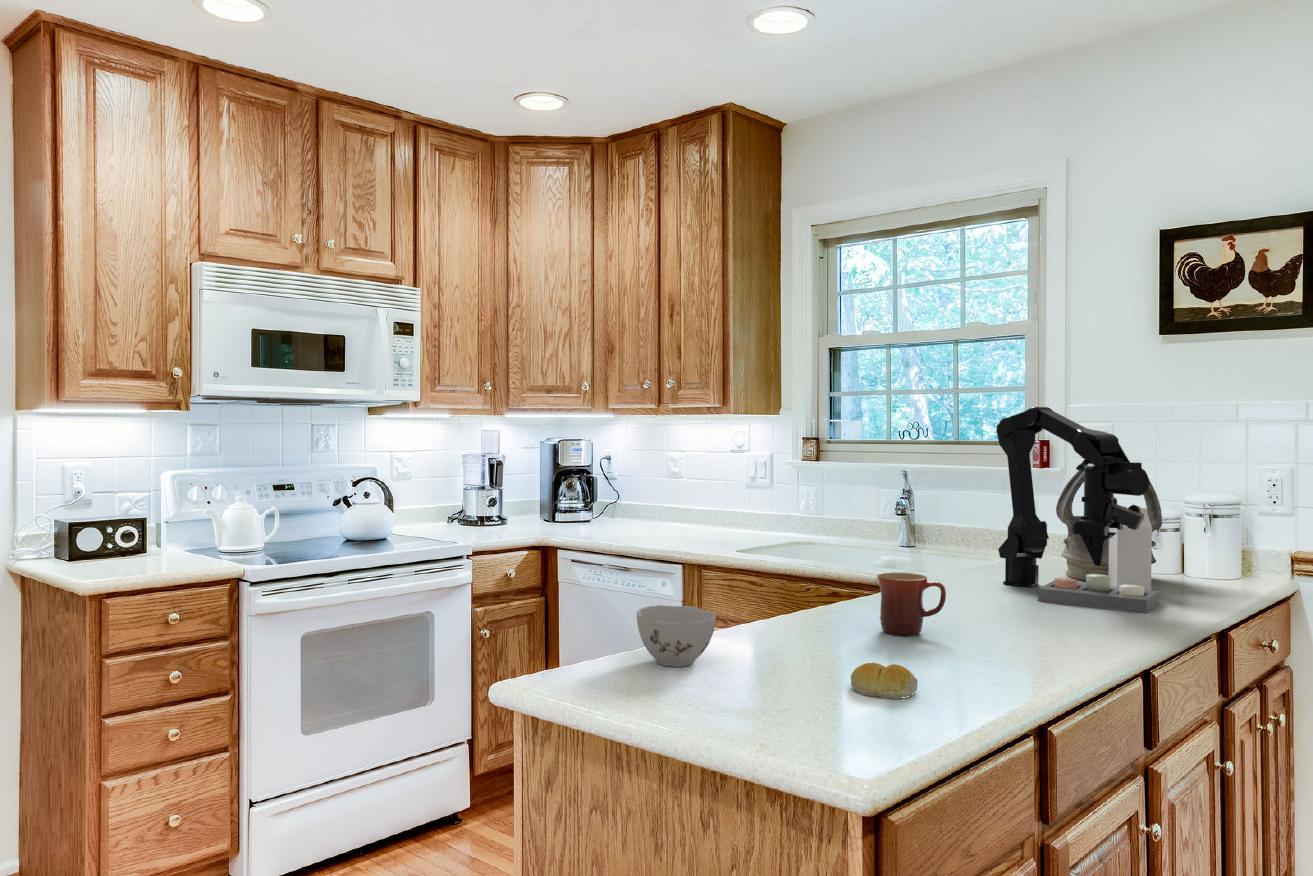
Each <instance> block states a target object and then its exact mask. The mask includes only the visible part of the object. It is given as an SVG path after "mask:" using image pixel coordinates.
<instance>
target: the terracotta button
mask: <svg viewBox="0 0 1313 876" xmlns="http://www.w3.org/2000/svg"><path fill="white" fill-rule="evenodd" d="M1053 581H1054V587H1057V588H1066V589H1077V583H1078V579H1074V578H1070V577H1069V578H1067V577H1066V578H1065V577H1058V578H1057V577H1056V578H1054V580H1053Z"/></svg>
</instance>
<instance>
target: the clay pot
mask: <svg viewBox="0 0 1313 876" xmlns="http://www.w3.org/2000/svg"><path fill="white" fill-rule="evenodd" d="M1083 484H1084V470H1077V471H1076V472H1075V474H1074V475H1073V476H1072V477H1071V478H1070V479H1069V480H1068V482H1067V483H1066V485H1065V486H1064V488H1063V490H1062V491H1061V494H1060V496H1059V498H1058V499H1057V500H1058V501H1057V503H1056V507H1055V508H1056V509H1055V513H1056V516H1057V518H1058V519H1059V520H1060V522H1061V523H1062V524H1065V526H1066V527H1067V537H1066V538H1064V539H1063V544H1064V545H1065V547H1064V549H1063V551H1062V552H1061V554H1060V556H1061V557H1062V558H1063V559H1065V560H1066V566H1067V568H1068V569H1067V570H1066V571H1065V574H1066V576H1067V577H1069V578H1071V579H1075V580H1077V581H1078V580H1079V581H1084V582H1086V575H1087V574H1101V575H1108V571H1109V540H1108V542H1107V546H1106V549H1105V553H1104V556H1103V560H1102V563H1101V565H1100V566H1096V565H1094V562H1093V560H1092V558H1091V556H1090V554H1089V551H1088V549H1087V547H1086V545H1085V543H1084V541H1083V539H1082V537H1081V536H1080V534H1072V525H1073V524H1074V523H1075V522H1076V521H1078V520H1081V516H1082V515H1074V514H1073V502H1074V500H1075V497H1076V495H1077V492H1078V491H1079V489H1080V488H1081V487H1082V485H1083ZM1142 496H1143V498H1144V502H1145V508H1147V514H1148V517H1149V520H1150V523H1151V526H1152V533H1154V531H1158V530H1160V528H1161V527H1162V525H1163V516H1162V514H1163V513H1162V508H1161V503H1160V500H1159V496H1158V495H1157V493H1156V490H1155V488H1154V486H1153V483H1152V482H1151V481H1150V480H1149V487H1148V489H1147V491H1146V492H1145V493H1144V494H1143V495H1142ZM1108 529H1109V528H1108ZM1155 545H1157V544H1156V542H1155V541H1154V540H1152V548H1153V547H1154V546H1155ZM1156 563H1157V559H1156V558H1155V557H1154V554H1153V552H1152V557H1151V565H1153V564H1156Z"/></svg>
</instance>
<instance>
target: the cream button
mask: <svg viewBox="0 0 1313 876" xmlns="http://www.w3.org/2000/svg"><path fill="white" fill-rule="evenodd" d="M1119 594H1123V595H1132V596H1141V597H1144V587H1143V586H1138V585H1119Z"/></svg>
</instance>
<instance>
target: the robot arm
mask: <svg viewBox="0 0 1313 876" xmlns="http://www.w3.org/2000/svg"><path fill="white" fill-rule="evenodd" d="M1043 430H1045V431H1046V432H1049V434H1050V433H1051V434H1052V435H1053V436H1055V437H1058V438H1060V440H1062V441H1065V442H1067V443H1068V444H1069V445H1071V446H1072V448H1073V451H1074V452H1075V453H1076V454H1078V456H1080V457H1081V458H1083V460H1082V462H1081V463H1080V464H1078V465H1077V466H1076V467H1075V469H1076V471H1079V470H1084V482H1083V484H1084V485H1083V496H1082V497H1081V503H1083V515H1080V516H1081V520H1078V521H1076V522H1075V523H1074V524H1073V525H1072V534H1080V536H1081V537H1082V539H1083V541H1084V543H1085V545H1086V547H1087V549H1088V551H1089V554H1090V556H1091V558H1092V560H1093V562H1094V565H1096V566H1100V565H1101V563H1102V560H1103V556H1104V553H1105V549H1106V546H1107V542H1108V540H1109V539H1110V538H1112V537H1113V536H1114V535H1116V532H1109V529H1108V528H1117V529H1118V530H1121V529H1123V525H1125V526H1127V527H1128V528H1130V529H1133V530H1136V529H1139V527H1140V524H1141V522H1142V520H1143V517H1144V514H1143V513H1141V509H1140V508H1141V507H1140V506H1139V505H1136V504H1131V505H1130V506H1128V507H1127V506H1122V505H1120V504H1118V498H1117V497H1115V496H1114V494H1115V495H1124V496H1125V495H1126V496H1136V497H1140V496H1143V494H1144V493H1145V492H1146V491H1147V489H1148V487H1149V481H1150V478H1149V476H1148V474H1147V472H1146V470H1145V469H1144V468H1142V467H1143V466H1142V465H1143V463H1142V462H1140V461H1137V462H1134V461H1132V462H1131V461H1130V460H1129V458H1128V456H1127V455H1126V453H1125V451H1124V449H1123V447H1122V446H1121V445H1120V443H1119V438H1118V437H1117V436H1116V435H1115V434H1112V433H1110V432H1105V431H1101V430H1095V429H1090V428H1087V427H1085V426H1083V425H1081V424H1079V423H1077V422H1076V421H1074V420H1071V419H1069V418H1067V417H1065V416H1064V415H1062V414H1060V413H1058V412H1056V411H1053V409H1051V408H1050V407H1049V406H1032V407H1029V408H1028V409H1026V410H1024V411H1023V412H1019V413H1017V414H1016V413H1015V414H1014V415H1011V416H1008V417H1004V418H1003V417H1002V418H1001V420H1000V421H998V424H997V425H996V436H997V440H998V444H999V446H1000V448H1001V449H1002V450H1003V452H1004V453H1005V454H1006V457H1007V466H1008V476H1009V477H1008V478H1009V486H1010V494H1011V495H1010V497H1011V505H1012V518H1011V520H1010V522H1009V524H1008V526H1007V538H1006V539H1005V540H1004V541H1003V543H1002V544H1001V545H1000V546H999V548H998V550H997V551H998V554H999V558H1001V559H1004V560H1005V563H1004V564H1005V565H1004V566H1005V575H1004V576H1005V577H1004V578H1005V579H1004V581H1002V584H1003V585H1011V586H1012V585H1013V586H1020V587H1031V588H1032V587H1033V586H1036V585H1038V584H1039V576H1040V575H1039V574H1040V573H1039V572H1040V571H1039V568H1040V567H1039V565H1038V564H1037V559H1041V560H1042V559H1043V556H1044V552H1045V551H1046V550H1045V549H1046V547H1047V546H1048V539H1050V538H1049V535H1048V523H1047V522H1046V520H1042V521H1041V519H1040V518H1039V517H1038V515H1037V513H1036V503H1035V494H1034V484H1033V473H1032V465H1031V455H1030V454H1031V452H1032V450H1033V447H1034V446H1035V444H1036V435H1037V434H1038V433H1040V432H1042V431H1043Z"/></svg>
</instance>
